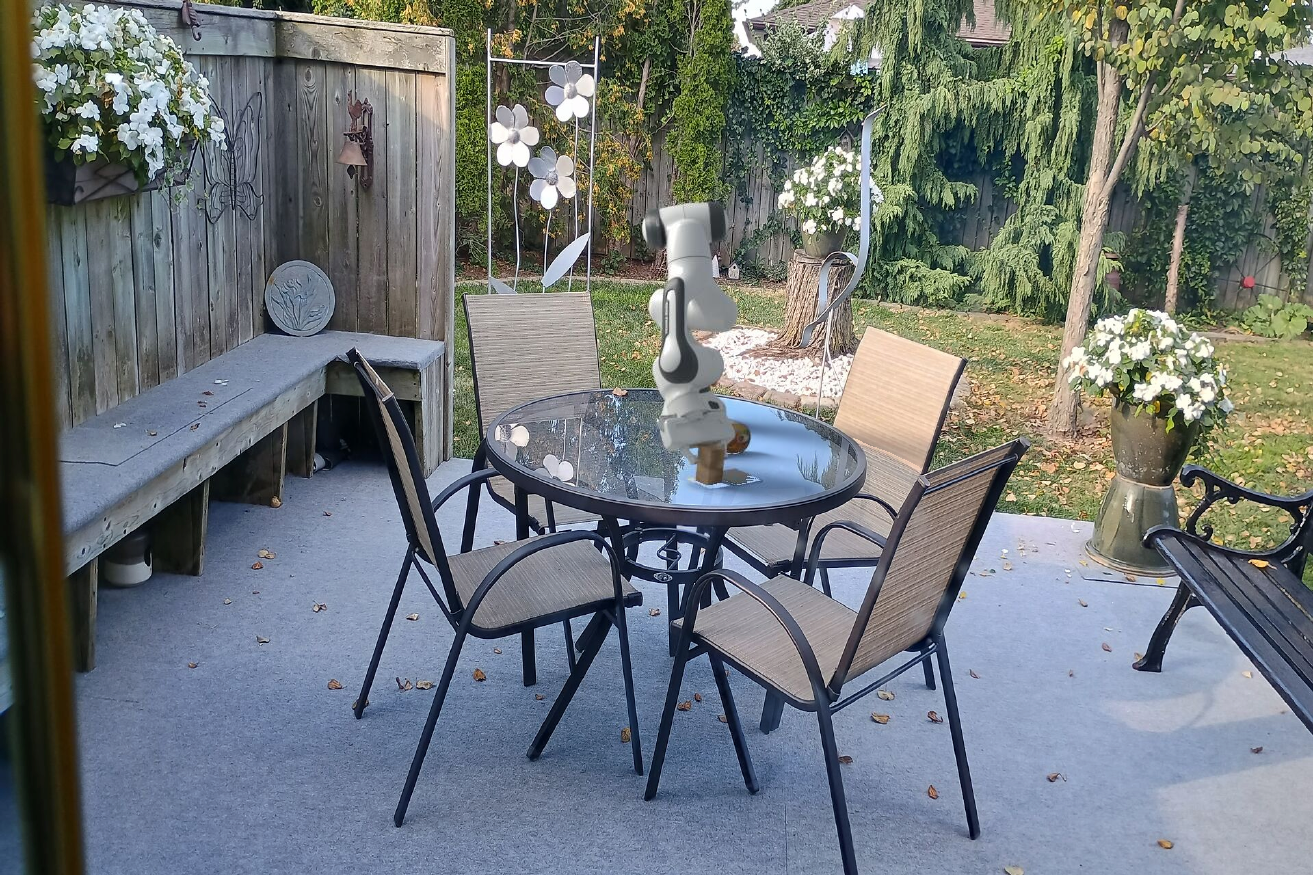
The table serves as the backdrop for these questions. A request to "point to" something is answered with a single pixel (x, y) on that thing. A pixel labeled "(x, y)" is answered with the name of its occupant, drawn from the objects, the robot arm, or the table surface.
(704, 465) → the walnut block
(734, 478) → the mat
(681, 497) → the table surface
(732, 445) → the tin
